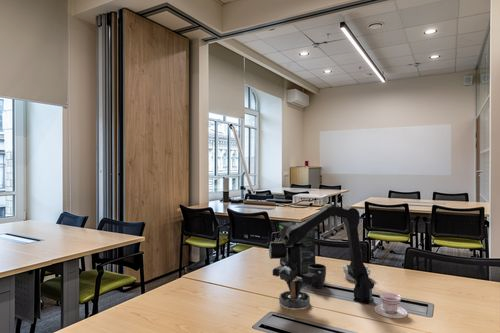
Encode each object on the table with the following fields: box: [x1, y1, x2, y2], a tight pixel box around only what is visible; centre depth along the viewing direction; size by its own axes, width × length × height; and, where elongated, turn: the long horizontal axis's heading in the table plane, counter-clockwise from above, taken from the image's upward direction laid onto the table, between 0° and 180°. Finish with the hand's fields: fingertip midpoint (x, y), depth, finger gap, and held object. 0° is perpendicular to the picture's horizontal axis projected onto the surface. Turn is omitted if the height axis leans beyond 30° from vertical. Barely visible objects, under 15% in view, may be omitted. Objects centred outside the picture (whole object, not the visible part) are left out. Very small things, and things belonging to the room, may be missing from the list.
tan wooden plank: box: [290, 279, 299, 299], centre depth 140 cm, size 2×3×8 cm, turn 141°
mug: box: [308, 263, 327, 289], centre depth 158 cm, size 8×12×10 cm
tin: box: [278, 290, 311, 311], centre depth 140 cm, size 12×12×3 cm
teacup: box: [373, 291, 408, 319], centre depth 132 cm, size 12×12×6 cm
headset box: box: [278, 221, 317, 274], centre depth 187 cm, size 22×12×26 cm, turn 17°
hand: (294, 295), depth 140 cm, fingers closed on tan wooden plank, 2 cm apart
